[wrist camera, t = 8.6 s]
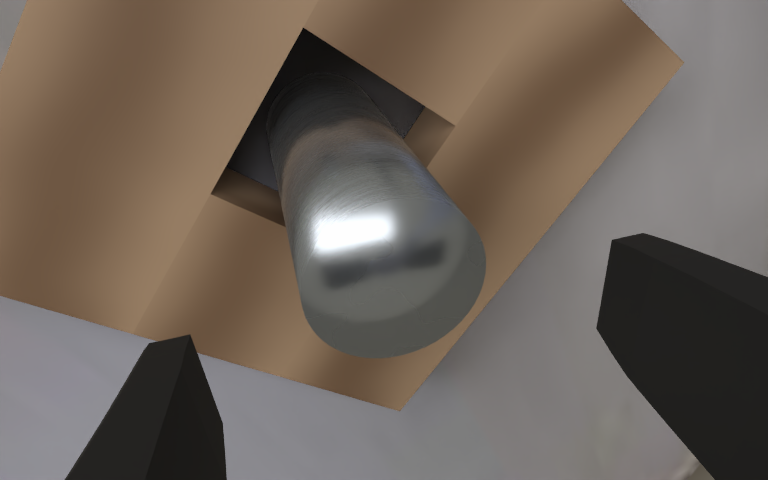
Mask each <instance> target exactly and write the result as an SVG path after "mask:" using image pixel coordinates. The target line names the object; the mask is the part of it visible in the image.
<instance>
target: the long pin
mask: <svg viewBox="0 0 768 480" xmlns="http://www.w3.org/2000/svg"><path fill="white" fill-rule="evenodd" d="M267 137H268V142H269V147H270V152H271V157H272V162H273V167H274V172H275V177H276V182H277V186H278V191H279V196H280V201H281V206H282V211H283V216H284V221H285V226H286V231H287V235H288V240H289V245H290V250H291V255H292V260H293V265H294V270H295V275H296V280H297V284H298V289H299V294H300V299H301V304H302V309H303V312H304V315H305V318H306V320H307V322H308V323H309V325H310V327H311V328H312V330H313V331H314V332H315V334H316V335H317V336H318V337H319V338H320V339H321V340H323V341H324V342H325V343H327V344H328V345H329V346H331V347H333V348H335V349H337V350H338V351H341V352H343V353H346V354H349V355H353V356H357V357H363V358H389V357H396V356H401V355H405V354H408V353H412V352H415V351H417V350H420V349H422V348H425V347H427V346H429V345H430V344H432V343H434V342H436V341H438V340H439V339H441V338H442V337H444V336H445V335H446V334H448V333H449V332H450V331H451V330H453V329H454V328H455V327H456V326H457V325H458V324H459V323H460V322H461V321H462V320H463V319H464V317H465V316H466V315H467V314H468V313H469V311H470V310H471V308H472V307H473V305H474V304H475V302H476V300H477V298H478V296H479V294H480V292H481V289H482V286H483V283H484V278H485V274H486V254H485V250H484V245H483V243H482V240H481V238H480V236H479V234H478V232H477V231H476V229H475V228H474V226H473V225H472V224H471V222H470V221H469V220H468V219H467V218H466V216H465V215H464V214H463V213H462V211H461V210H460V209H459V208H458V206H457V205H456V204H455V203H454V201H453V200H452V199H451V198H450V197H449V195H448V194H447V193H446V192H445V190H444V189H443V188H442V187H441V185H440V184H439V183H438V182H437V180H436V179H435V178H434V177H433V176H432V174H431V173H430V172H429V171H428V169H427V168H426V167H425V166H424V164H423V163H422V162H421V161H420V159H419V158H418V157H417V156H416V155H415V153H414V152H413V151H412V150H411V148H410V147H409V146H408V145H407V143H406V142H405V141H404V140H403V138H402V137H401V136H400V135H399V134H398V132H397V131H396V130H395V129H394V127H393V126H392V125H391V124H390V122H389V121H388V120H387V119H386V117H385V116H384V115H383V114H382V113H381V111H380V110H379V109H378V108H377V106H376V105H375V104H374V103H373V101H372V100H371V99H370V98H369V96H368V95H367V94H366V93H365V92H364V90H363V89H362V88H361V87H360V86H359V85H357V84H356V83H355V82H353V81H352V80H350V79H348V78H346V77H344V76H341V75H338V74H334V73H329V72H318V73H311V74H307V75H304V76H301V77H299V78H297V79H295V80H293V81H292V82H290V83H289V84H288V85H286V86H285V87H284V88H283V89H282V90H281V91H280V92H279V94H278V95H277V96H276V98H275V99H274V101H273V103H272V105H271V107H270V110H269V113H268V117H267Z"/></svg>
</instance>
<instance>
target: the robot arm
mask: <svg viewBox="0 0 768 480" xmlns="http://www.w3.org/2000/svg"><path fill="white" fill-rule="evenodd" d="M596 329H597V330H598V332H599V333H600V335H601V337H602V338H603V340H604V341H605V343H606V345H607V346H608V348H609V350H610V351H611V353H612V354H613V356H614V357H615V359H616V360H617V362H618V363H619V365H620V366H621V368H622V369H623V371H624V372H625V374H626V375H627V377H628V378H629V379H630V380H631V382H632V383H633V384H634V385H635V386H636V388H637V389H638V390H639V391H640V392H641V394H642V395H643V396H644V397H645V398H646V400H647V401H648V402H649V403H650V404H651V405H652V407H653V408H654V409H655V410H656V411H657V413H658V414H659V415H660V416H661V417H662V418H663V420H664V421H665V422H666V423H667V424H668V425H669V427H670V428H671V429H672V430H673V431H674V432H675V434H676V435H677V436H678V437H679V438H680V439H681V441H682V442H683V443H684V444H685V445H686V446H687V448H688V449H689V450H690V451H691V452H692V453H693V455H694V456H695V457H696V458H697V459H698V460H699V462H700V463H701V464H702V465H703V466H704V467H705V469H706V470H707V471H708V472H709V473H710V474H711V475H712V477H713V478H714V479H715V480H768V277H766V276H763V275H760V274H757V273H755V272H752V271H749V270H747V269H744V268H741V267H739V266H736V265H733V264H731V263H728V262H725V261H723V260H720V259H717V258H715V257H712V256H709V255H707V254H704V253H701V252H699V251H696V250H693V249H690V248H687V247H685V246H682V245H679V244H676V243H673V242H670V241H667V240H664V239H661V238H658V237H655V236H651V235H648V234H644V233H641V234H637V235H632V236H628V237H623V238H619V239H614V240H612V243H611V248H610V254H609V260H608V265H607V271H606V277H605V283H604V288H603V294H602V300H601V306H600V311H599V317H598V323H597V328H596ZM65 480H227V478H226V461H225V447H224V434H223V423H222V420H221V417H220V415H219V412H218V409H217V406H216V404H215V401H214V398H213V395H212V393H211V390H210V387H209V384H208V382H207V379H206V376H205V373H204V371H203V368H202V365H201V362H200V360H199V357H198V354H197V351H196V349H195V346H194V343H193V340H192V338H191V335H190V334H189V335H185V336H180V337H176V338H171V339H167V340H162V341H158V342H153V343H149V344H148V346H147V347H146V348H145V350H144V351H143V353H142V354H141V356H140V358H139V359H138V361H137V363H136V364H135V366H134V368H133V370H132V371H131V373H130V375H129V377H128V378H127V380H126V382H125V383H124V385H123V387H122V388H121V390H120V392H119V394H118V395H117V397H116V399H115V400H114V402H113V404H112V405H111V407H110V409H109V410H108V412H107V414H106V415H105V417H104V419H103V420H102V422H101V424H100V425H99V427H98V428H97V430H96V431H95V433H94V435H93V436H92V438H91V439H90V441H89V443H88V444H87V446H86V447H85V449H84V450H83V452H82V454H81V455H80V457H79V458H78V460H77V461H76V463H75V465H74V466H73V468H72V469H71V471H70V472H69V474H68V475H67V477H66V479H65Z"/></svg>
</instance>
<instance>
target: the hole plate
mask: <svg viewBox="0 0 768 480" xmlns="http://www.w3.org/2000/svg"><path fill="white" fill-rule="evenodd" d="M303 28H305V29H307V30H308V31H310V32H311V33H313V34H314V35H316V36H317V37H319V38H320V39H322V40H324V41H325V42H327V43H328V44H330V45H331V46H333V47H334V48H336V49H337V50H339V51H341V52H342V53H344V54H345V55H347V56H348V57H350V58H351V59H353V60H354V61H356V62H358V63H359V64H361V65H362V66H364V67H365V68H367V69H368V70H370V71H371V72H373V73H375V74H376V75H378V76H379V77H381V78H382V79H384V80H385V81H387V82H388V83H390V84H392V85H393V86H395V87H396V88H398V89H399V90H401V91H402V92H404V93H405V94H407V95H409V96H410V97H412V98H413V99H415V100H416V101H418V102H419V103H421V104H422V105H424V106H425V108H424V109H423V111H422V112H421V114H420V115H419V117H418V118H417V120H416V121H415V123H414V124H413V126H412V127H411V129H410V130H409V132H408V133H407V135H406V136H405V138H404V139H403V140H404V141H405V142H406V143H407V145H408V146H409V147H410V148H411V150H412V151H413V152H414V153H415V155H416V156H417V157H418V158H419V159H420V161H421V162H422V163H423V164H424V166H425V167H426V168H427V169H428V171H429V172H430V173H431V174H432V176H433V177H434V178H435V179H436V180H437V182H438V183H439V184H440V185H441V187H442V188H443V189H444V190H445V192H446V193H447V194H448V195H449V197H450V198H451V199H452V200H453V201H454V203H455V204H456V205H457V206H458V208H459V209H460V210H461V211H462V213H463V214H464V215H465V216H466V218H467V219H468V220H469V221H470V222H471V224H472V225H473V226H474V228H475V229H476V231H477V232H478V234H479V236H480V238H481V240H482V243H483V245H484V250H485V254H486V274H485V278H484V283H483V286H482V289H481V292H480V294H479V296H478V298H477V300H476V302H475V304H474V305H473V307H472V308H471V310H470V311H469V313H468V314H467V315H466V316H465V317H464V319H463V320H462V321H461V322H460V323H459V324H458V325H457V326H456V327H455V328H454V329H453V330H451V331H450V332H449V333H448V334H446V335H445V336H444V337H442V338H441V339H439V340H438V341H436V342H434V343H432V344H430V345H429V346H427V347H425V348H422V349H420V350H417V351H415V352H412V353H408V354H405V355H401V356H396V357H389V358H363V357H357V356H353V355H349V354H346V353H343V352H341V351H338V350H337V349H335V348H333V347H331V346H329V345H328V344H327V343H325V342H324V341H323V340H321V339H320V338H319V337H318V336H317V335H316V334H315V332H314V331H313V330H312V328H311V327H310V325H309V323H308V322H307V320H306V318H305V315H304V312H303V309H302V304H301V299H300V294H299V289H298V284H297V280H296V275H295V270H294V265H293V260H292V255H291V250H290V245H289V240H288V235H287V231H286V226H285V221H284V216H283V211H282V206H281V201H280V196H279V192H278V191H276V190H273V189H271V188H269V187H267V186H265V185H263V184H261V183H259V182H256V181H254V180H252V179H250V178H248V177H246V176H244V175H242V174H239V173H237V172H235V171H233V170H231V169H229V168H227V167H226V165H227V163H228V162H229V160H230V158H231V156H232V154H233V153H234V151H235V149H236V147H237V145H238V144H239V142H240V140H241V138H242V136H243V135H244V133H245V131H246V129H247V127H248V126H249V124H250V122H251V120H252V118H253V117H254V115H255V113H256V111H257V110H258V108H259V106H260V104H261V102H262V101H263V99H264V97H265V95H266V93H267V92H268V90H269V88H270V86H271V84H272V83H273V81H274V79H275V77H276V75H277V74H278V72H279V70H280V68H281V66H282V65H283V63H284V61H285V59H286V57H287V56H288V54H289V52H290V50H291V48H292V47H293V45H294V43H295V41H296V40H297V38H298V36H299V34H300V32H301V31H302V29H303ZM683 63H684V62H683V61H682V60H681V59H680V58H679V57H678V56H677V55H676V54H675V53H674V52H673V51H672V50H671V49H670V48H669V47H668V46H667V45H666V44H665V43H664V42H663V41H662V40H661V39H660V38H659V37H658V36H657V35H656V34H655V33H654V32H653V31H652V30H651V29H650V28H649V27H648V26H647V25H646V24H645V23H644V22H643V21H642V20H641V19H640V18H639V17H638V16H637V15H636V14H635V13H634V12H633V11H632V10H631V9H630V8H629V7H628V6H627V5H626V4H625V3H624V2H623V1H622V0H27V2H26V5H25V8H24V10H23V13H22V15H21V18H20V21H19V23H18V26H17V29H16V31H15V34H14V37H13V39H12V42H11V45H10V47H9V50H8V53H7V55H6V58H5V61H4V63H3V66H2V69H1V71H0V296H3V297H7V298H10V299H14V300H17V301H20V302H24V303H27V304H31V305H34V306H38V307H41V308H45V309H48V310H52V311H55V312H59V313H62V314H65V315H69V316H72V317H76V318H79V319H83V320H86V321H90V322H93V323H97V324H100V325H104V326H107V327H110V328H114V329H117V330H121V331H124V332H128V333H131V334H135V335H138V336H142V337H145V338H148V339H152V340H155V341H162V340H167V339H171V338H176V337H180V336H185V335H189V334H190V335H191V338H192V340H193V343H194V346H195V349H196V351H197V353H200V354H204V355H207V356H211V357H214V358H218V359H221V360H225V361H228V362H231V363H235V364H238V365H242V366H245V367H249V368H252V369H256V370H259V371H263V372H266V373H270V374H273V375H276V376H280V377H283V378H287V379H290V380H294V381H297V382H301V383H304V384H308V385H311V386H315V387H318V388H321V389H325V390H328V391H332V392H335V393H339V394H342V395H346V396H349V397H353V398H356V399H359V400H363V401H366V402H370V403H373V404H377V405H380V406H384V407H387V408H391V409H394V410H398V411H400V410H401V409H402V408H403V407H404V405H405V404H406V403H407V402H408V400H409V399H410V398H411V397H412V396H413V394H414V393H415V392H416V391H417V389H418V388H419V387H420V386H421V385H422V383H423V382H424V381H425V380H426V378H427V377H428V376H429V375H430V373H431V372H432V371H433V370H434V369H435V367H436V366H437V365H438V364H439V362H440V361H441V360H442V359H443V358H444V356H445V355H446V354H447V353H448V351H449V350H450V349H451V348H452V347H453V345H454V344H455V343H456V342H457V340H458V339H459V338H460V337H461V335H462V334H463V333H464V332H465V331H466V329H467V328H468V327H469V326H470V324H471V323H472V322H473V321H474V320H475V318H476V317H477V316H478V315H479V313H480V312H481V311H482V310H483V309H484V307H485V306H486V305H487V304H488V302H489V301H490V300H491V299H492V297H493V296H494V295H495V294H496V293H497V291H498V290H499V289H500V288H501V286H502V285H503V284H504V283H505V282H506V280H507V279H508V278H509V277H510V275H511V274H512V273H513V272H514V271H515V269H516V268H517V267H518V266H519V264H520V263H521V262H522V261H523V259H524V258H525V257H526V256H527V255H528V253H529V252H530V251H531V250H532V248H533V247H534V246H535V245H536V244H537V242H538V241H539V240H540V239H541V237H542V236H543V235H544V234H545V233H546V231H547V230H548V229H549V228H550V226H551V225H552V224H553V223H554V221H555V220H556V219H557V218H558V217H559V215H560V214H561V213H562V212H563V210H564V209H565V208H566V207H567V206H568V204H569V203H570V202H571V201H572V199H573V198H574V197H575V196H576V194H577V193H578V192H579V191H580V190H581V188H582V187H583V186H584V185H585V183H586V182H587V181H588V180H589V179H590V177H591V176H592V175H593V174H594V172H595V171H596V170H597V169H598V168H599V166H600V165H601V164H602V163H603V161H604V160H605V159H606V158H607V156H608V155H609V154H610V153H611V152H612V150H613V149H614V148H615V147H616V145H617V144H618V143H619V142H620V141H621V139H622V138H623V137H624V136H625V134H626V133H627V132H628V131H629V130H630V128H631V127H632V126H633V125H634V123H635V122H636V121H637V120H638V118H639V117H640V116H641V115H642V114H643V112H644V111H645V110H646V109H647V107H648V106H649V105H650V104H651V103H652V101H653V100H654V99H655V98H656V96H657V95H658V94H659V93H660V92H661V90H662V89H663V88H664V87H665V85H666V84H667V83H668V82H669V80H670V79H671V78H672V77H673V76H674V74H675V73H676V72H677V71H678V69H679V68H680V67H681V66H682V65H683Z"/></svg>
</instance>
